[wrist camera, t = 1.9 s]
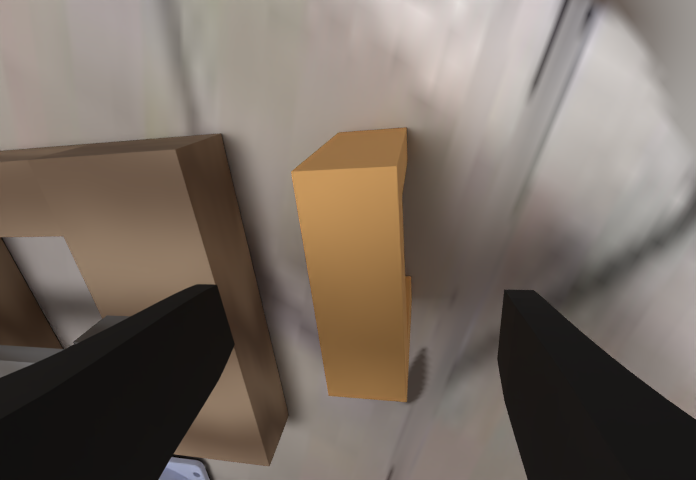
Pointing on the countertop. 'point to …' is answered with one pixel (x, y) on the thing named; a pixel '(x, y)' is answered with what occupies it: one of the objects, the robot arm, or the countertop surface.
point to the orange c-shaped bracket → (358, 260)
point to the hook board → (146, 266)
